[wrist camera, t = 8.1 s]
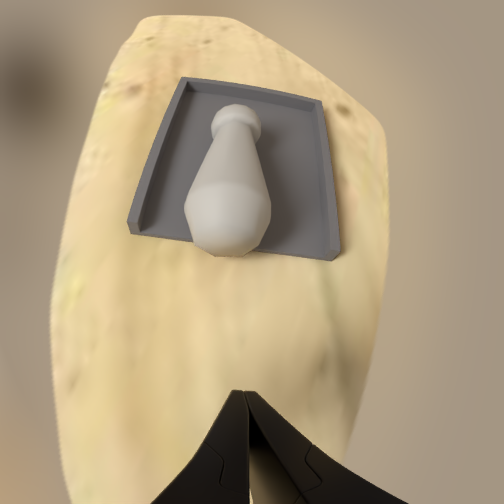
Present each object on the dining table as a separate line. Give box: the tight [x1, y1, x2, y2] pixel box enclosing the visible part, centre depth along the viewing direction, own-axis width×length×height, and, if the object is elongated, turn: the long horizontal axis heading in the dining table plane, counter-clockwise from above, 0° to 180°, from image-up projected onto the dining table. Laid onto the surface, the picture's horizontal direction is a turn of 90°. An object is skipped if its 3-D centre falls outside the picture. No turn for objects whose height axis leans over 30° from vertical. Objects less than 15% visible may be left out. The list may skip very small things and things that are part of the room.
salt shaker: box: [184, 104, 271, 257], centre depth 22 cm, size 6×6×13 cm
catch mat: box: [127, 77, 341, 261], centre depth 26 cm, size 19×16×2 cm
